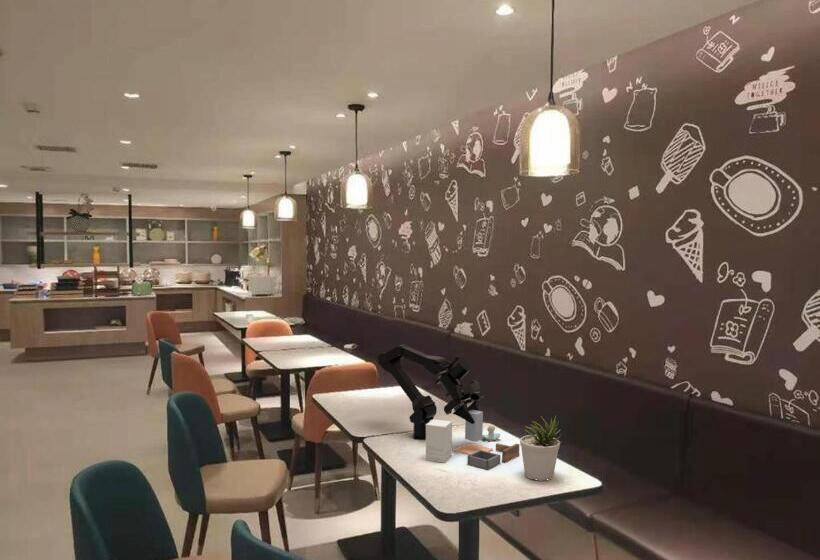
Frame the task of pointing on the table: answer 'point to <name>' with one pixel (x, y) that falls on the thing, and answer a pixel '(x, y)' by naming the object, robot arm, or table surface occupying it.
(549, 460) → the potted plant
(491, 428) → the pacifier
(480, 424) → the slate block
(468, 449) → the pad
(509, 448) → the walnut bracket
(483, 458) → the dark grey open box
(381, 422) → the table surface
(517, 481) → the table surface
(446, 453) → the supplement box
